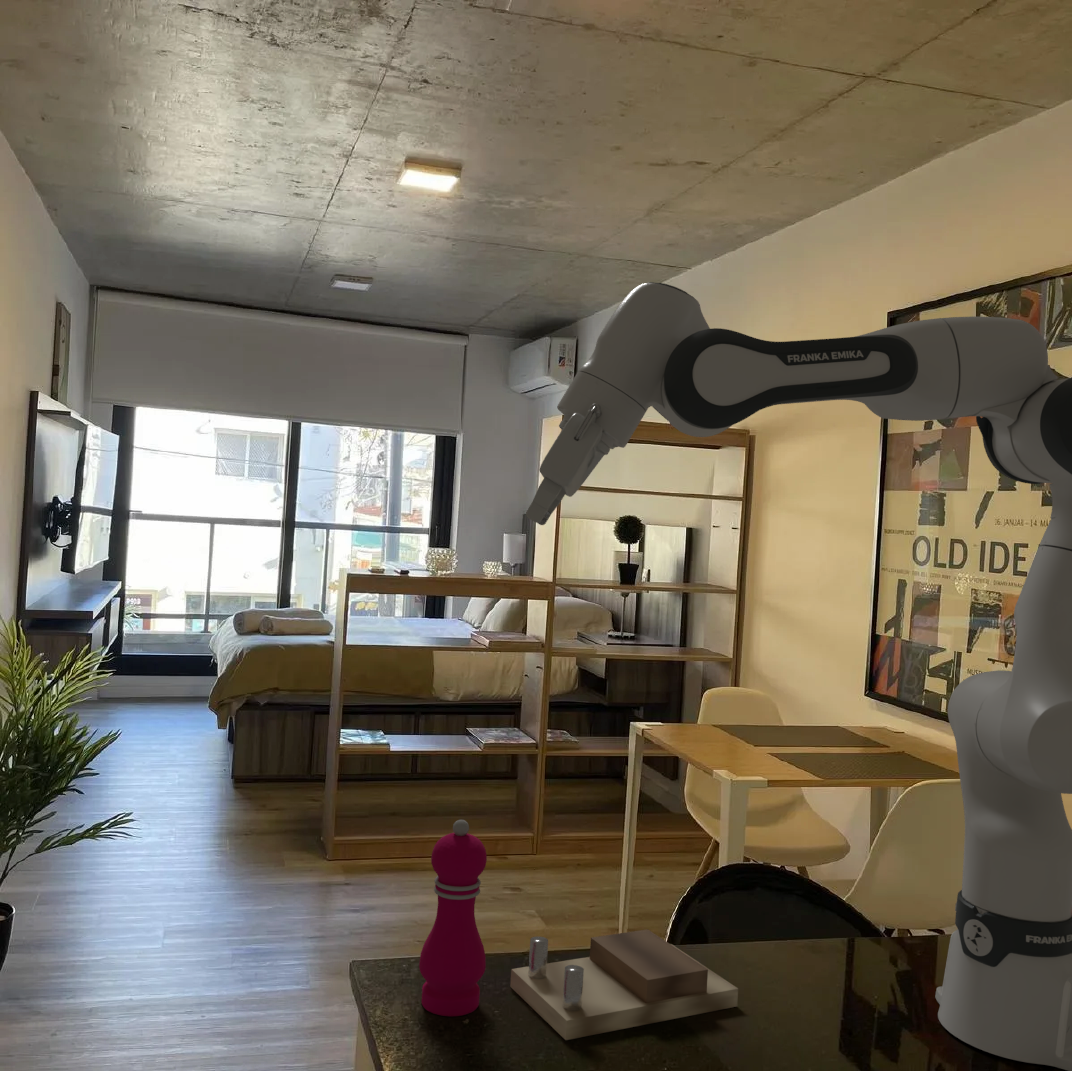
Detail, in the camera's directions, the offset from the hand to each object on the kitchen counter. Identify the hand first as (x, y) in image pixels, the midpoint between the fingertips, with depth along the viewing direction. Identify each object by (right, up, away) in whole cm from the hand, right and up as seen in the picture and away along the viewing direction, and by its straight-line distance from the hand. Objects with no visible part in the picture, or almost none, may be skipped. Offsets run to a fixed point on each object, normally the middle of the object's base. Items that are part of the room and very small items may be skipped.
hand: (534, 521), depth 114 cm
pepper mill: (-9, -53, -3) cm, 53 cm away
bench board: (+10, -54, +1) cm, 54 cm away
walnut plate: (+13, -52, +3) cm, 53 cm away
